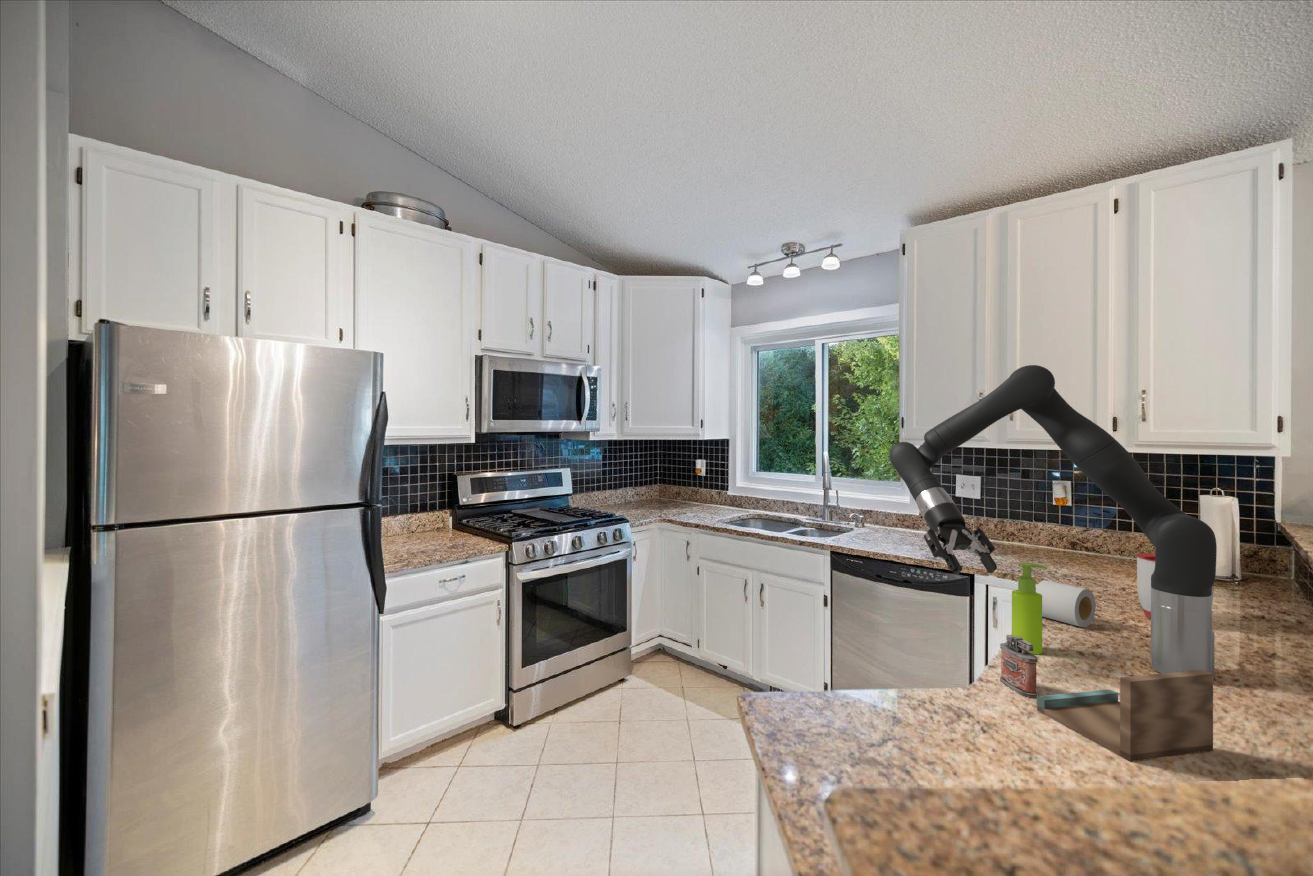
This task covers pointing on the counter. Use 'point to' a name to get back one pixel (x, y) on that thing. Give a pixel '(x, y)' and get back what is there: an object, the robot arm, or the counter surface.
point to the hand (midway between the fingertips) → (976, 571)
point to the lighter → (1018, 666)
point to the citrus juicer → (1146, 580)
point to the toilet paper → (1067, 603)
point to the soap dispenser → (1028, 609)
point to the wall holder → (1142, 715)
